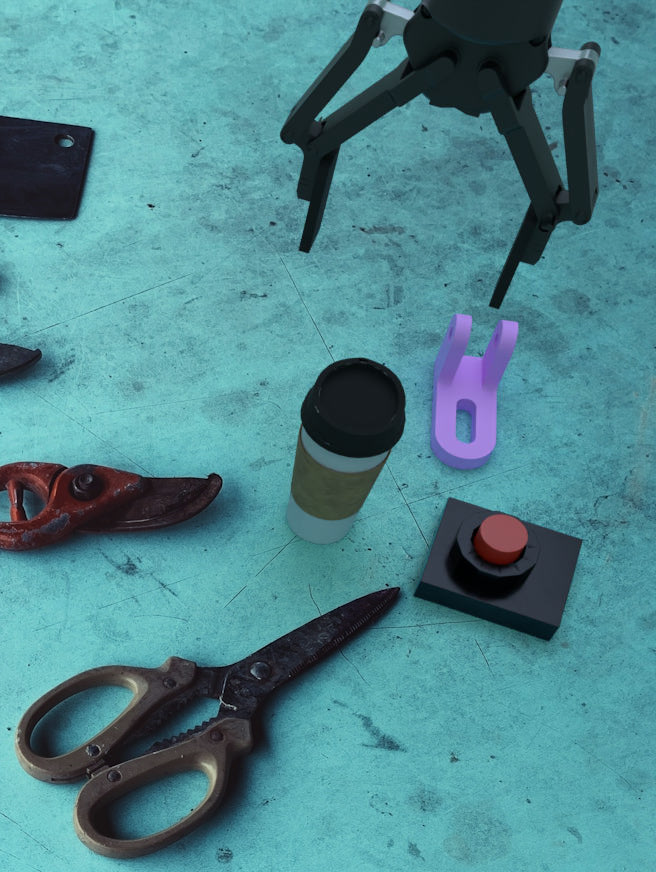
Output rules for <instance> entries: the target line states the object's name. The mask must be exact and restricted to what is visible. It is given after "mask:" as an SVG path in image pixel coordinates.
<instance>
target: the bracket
mask: <svg viewBox="0 0 656 872" xmlns="http://www.w3.org/2000/svg"><path fill="white" fill-rule="evenodd" d="M472 326H473V317H472V315H469V314H462V313H453V315H452V317H451V318H450V322H449V324H448V327H447V328H446V332H445V334H444V337H443V340H442V342H441V344H440V347H439V350H438V353H437V355H436V357H435V359H434V362H433V379H432V380H433V383H432V403H431V404H432V407H431V429H430V446H431V451H432V452H433V454H434V456H435V457H436V458H437V459H438V460H439V461H440V462H442V463H443V464H445V465H446V466H448V467H451V468H453V469H458V470H465V471H466V470H474V469H477V468H480V467H482V466H483V465H485V464H487V462H488V461H489V459H490V457H491V455H492V453H493V451H494V449H495V447H496V444H497V407H498V406H497V405H498V401H497V397H498V395H497V394H498V393H497V392H498V388H499V384H500V382H501V380H502V378H503V376H504V373H505V371H506V369H507V367H508V365H509V363H510V361H511V359H512V357H513V355H514V351H515V349H516V344H517V340H518V336H519V323H518V321H514V320H507V319H500V320H499V321H498V322H497V324H496V325H495V327H494V330H493V332H492V335H491V337H490V340H489V342H488V344H487V346H486V348H485V350H484V353H483V355H482V357H480V356H479V357H478V356H471V355H465V353H466V351H467V350H466V349H467V347H468V344H469V341H470V336H471V332H472ZM458 410H463V411H465V412H467V413H469V414H470V417H471V422H470V423H471V426H470V442H469V443H467V442H463V441H460V440H459V439H458V438H457V435H456V432H457V429H456V428H457V411H458Z"/></svg>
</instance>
